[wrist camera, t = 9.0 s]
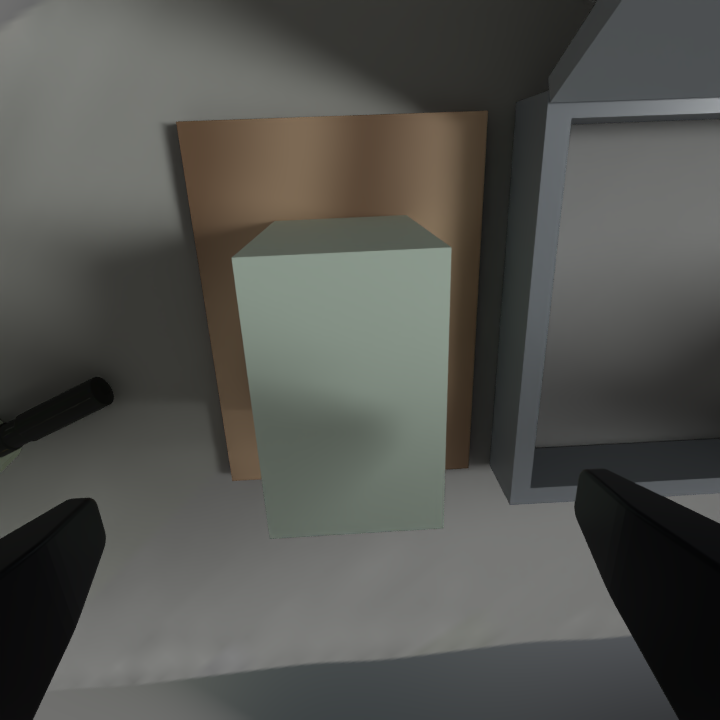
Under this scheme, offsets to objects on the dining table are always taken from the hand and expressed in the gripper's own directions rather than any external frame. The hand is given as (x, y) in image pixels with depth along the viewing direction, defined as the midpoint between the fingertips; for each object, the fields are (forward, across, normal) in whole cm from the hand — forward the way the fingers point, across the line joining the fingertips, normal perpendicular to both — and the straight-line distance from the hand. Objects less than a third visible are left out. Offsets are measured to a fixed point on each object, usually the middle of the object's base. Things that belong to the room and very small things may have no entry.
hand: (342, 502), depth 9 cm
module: (+12, 0, 0) cm, 12 cm away
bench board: (+12, 0, 0) cm, 12 cm away
